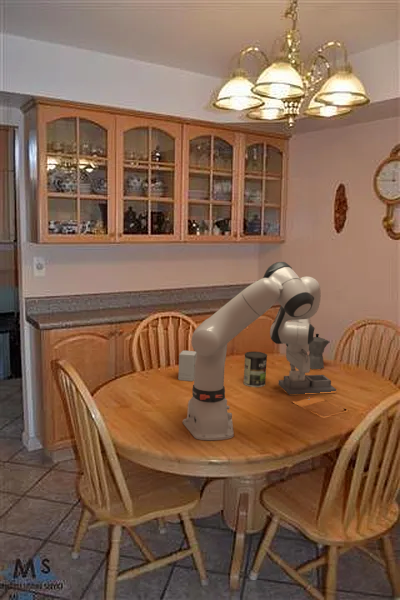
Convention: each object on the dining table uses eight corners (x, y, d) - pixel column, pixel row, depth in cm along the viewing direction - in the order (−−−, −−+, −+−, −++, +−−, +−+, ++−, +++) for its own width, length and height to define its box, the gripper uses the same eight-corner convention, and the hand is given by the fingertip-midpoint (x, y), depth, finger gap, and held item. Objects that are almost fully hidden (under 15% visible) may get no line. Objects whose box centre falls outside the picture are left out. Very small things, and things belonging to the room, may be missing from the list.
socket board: (335, 393, 222) (336, 382, 221) (288, 395, 218) (289, 384, 217) (322, 382, 235) (323, 372, 234) (278, 384, 231) (279, 373, 230)
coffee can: (269, 383, 232) (271, 354, 230) (258, 389, 224) (259, 359, 222) (250, 378, 238) (252, 350, 236) (239, 383, 230) (240, 354, 228)
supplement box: (193, 381, 231) (194, 355, 229) (177, 380, 233) (178, 354, 230) (196, 376, 238) (197, 351, 236) (181, 375, 240) (182, 349, 238)
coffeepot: (329, 366, 261) (331, 333, 257) (326, 371, 252) (328, 337, 249) (299, 362, 267) (302, 329, 263) (296, 367, 258) (298, 333, 255)
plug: (304, 386, 223) (305, 373, 222) (292, 387, 222) (293, 374, 221) (300, 383, 228) (301, 370, 227) (288, 383, 227) (289, 370, 226)
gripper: (314, 352, 213) (312, 383, 215) (297, 340, 232) (295, 369, 235) (300, 353, 211) (298, 384, 214) (284, 340, 231) (282, 369, 234)
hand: (296, 376), depth 224 cm, fingers open, 8 cm apart
